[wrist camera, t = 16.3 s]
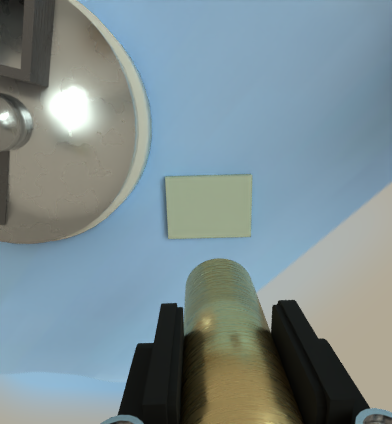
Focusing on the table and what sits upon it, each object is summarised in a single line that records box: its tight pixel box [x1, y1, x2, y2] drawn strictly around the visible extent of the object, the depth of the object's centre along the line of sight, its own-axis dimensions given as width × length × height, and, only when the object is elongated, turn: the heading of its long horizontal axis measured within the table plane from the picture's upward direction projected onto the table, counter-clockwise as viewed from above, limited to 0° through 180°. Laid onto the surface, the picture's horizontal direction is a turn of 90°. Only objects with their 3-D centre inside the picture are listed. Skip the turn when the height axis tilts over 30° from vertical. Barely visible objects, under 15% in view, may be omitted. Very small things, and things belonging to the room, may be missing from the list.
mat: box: [165, 174, 252, 239], centre depth 28 cm, size 8×6×1 cm
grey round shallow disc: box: [0, 0, 139, 244], centre depth 21 cm, size 19×19×4 cm
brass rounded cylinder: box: [180, 259, 304, 424], centre depth 10 cm, size 3×3×9 cm
